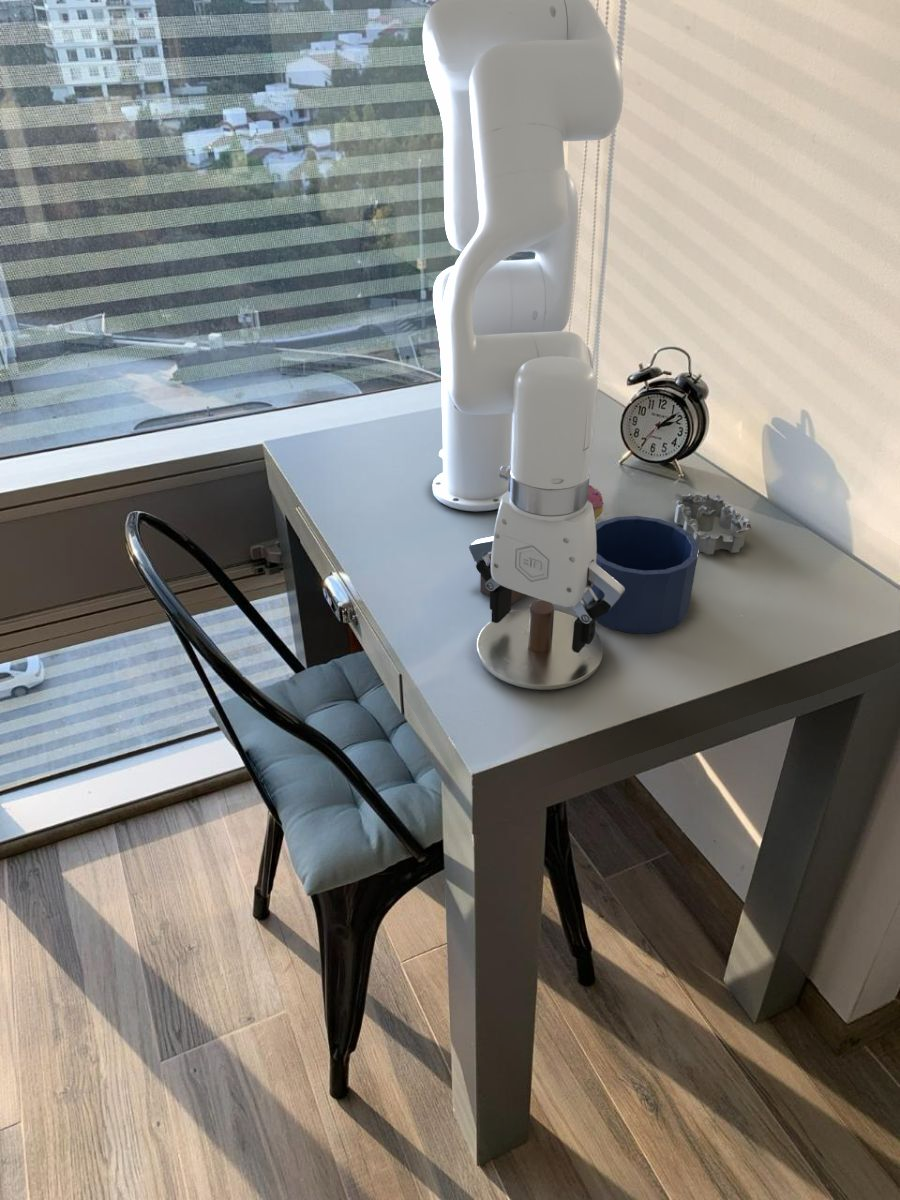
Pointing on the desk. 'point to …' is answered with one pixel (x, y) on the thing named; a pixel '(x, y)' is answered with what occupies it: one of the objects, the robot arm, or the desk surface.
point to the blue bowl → (646, 572)
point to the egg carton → (711, 522)
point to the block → (483, 589)
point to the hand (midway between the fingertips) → (540, 630)
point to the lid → (537, 649)
